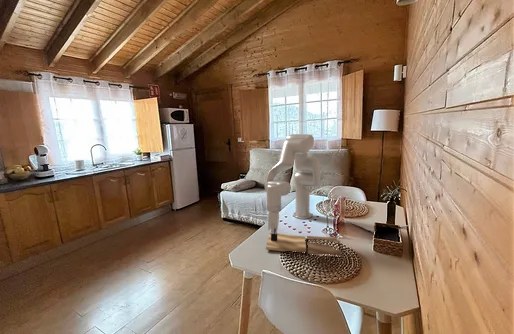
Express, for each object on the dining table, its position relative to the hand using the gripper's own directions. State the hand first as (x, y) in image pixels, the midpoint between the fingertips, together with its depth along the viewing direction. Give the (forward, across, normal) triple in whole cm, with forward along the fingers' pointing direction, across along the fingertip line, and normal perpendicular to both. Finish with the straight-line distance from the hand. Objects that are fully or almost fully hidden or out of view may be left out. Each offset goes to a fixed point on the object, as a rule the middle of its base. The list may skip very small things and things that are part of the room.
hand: (274, 240), depth 128 cm
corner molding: (+2, -39, +60) cm, 71 cm away
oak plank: (+2, -1, +7) cm, 7 cm away
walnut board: (+3, -1, +26) cm, 26 cm away
